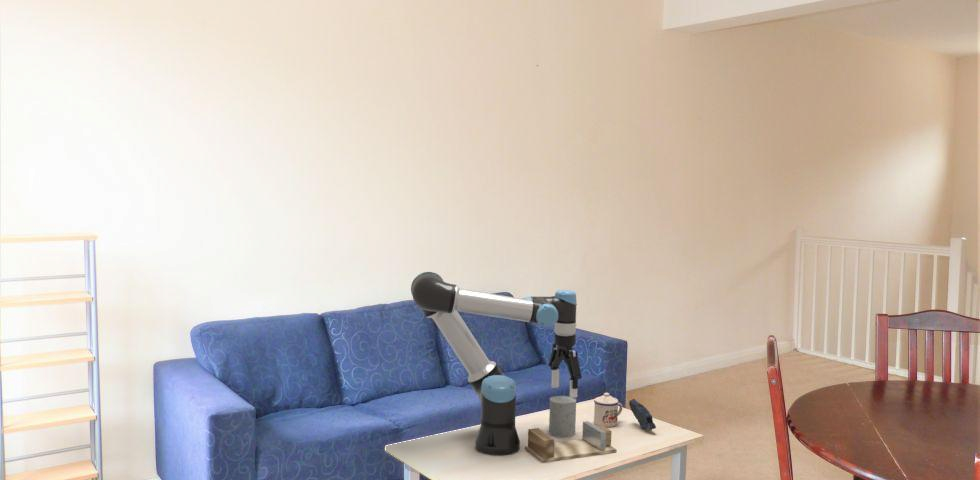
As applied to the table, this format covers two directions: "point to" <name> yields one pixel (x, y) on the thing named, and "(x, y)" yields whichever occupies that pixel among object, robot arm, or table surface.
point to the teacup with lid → (606, 410)
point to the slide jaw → (596, 435)
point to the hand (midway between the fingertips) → (564, 392)
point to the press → (560, 447)
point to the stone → (642, 415)
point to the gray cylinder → (562, 416)
